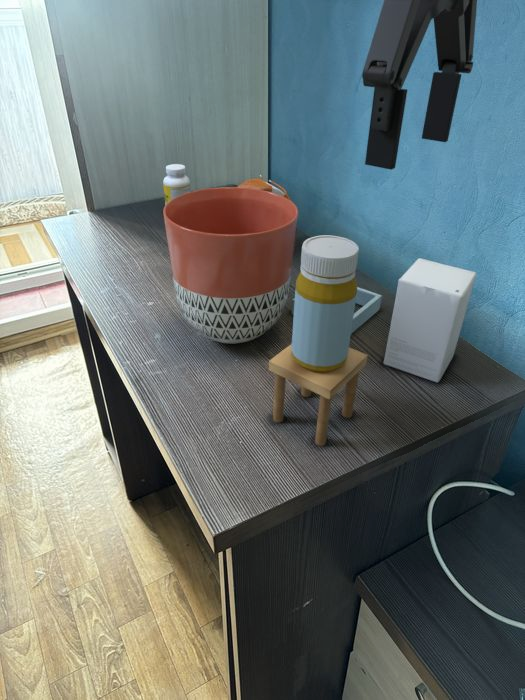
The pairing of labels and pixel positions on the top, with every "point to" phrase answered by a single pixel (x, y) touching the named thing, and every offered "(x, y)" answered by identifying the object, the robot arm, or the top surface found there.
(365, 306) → the square tray frame
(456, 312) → the rectangular carton
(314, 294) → the bottle
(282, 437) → the top surface
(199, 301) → the planter
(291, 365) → the stool
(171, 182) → the pill bottle
